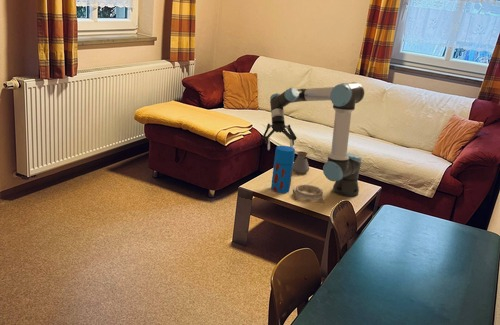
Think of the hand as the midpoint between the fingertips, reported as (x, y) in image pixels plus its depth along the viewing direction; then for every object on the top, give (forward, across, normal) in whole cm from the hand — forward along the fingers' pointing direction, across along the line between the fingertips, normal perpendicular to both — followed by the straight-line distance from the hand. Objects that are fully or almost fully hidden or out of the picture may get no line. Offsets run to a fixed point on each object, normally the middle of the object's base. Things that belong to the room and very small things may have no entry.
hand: (280, 149), depth 281 cm
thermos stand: (+27, -15, -3) cm, 31 cm away
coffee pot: (+3, -20, -28) cm, 35 cm away
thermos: (+21, -1, -9) cm, 23 cm away
